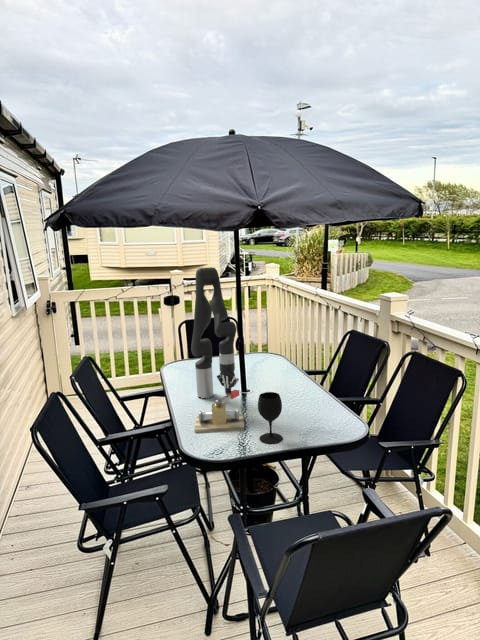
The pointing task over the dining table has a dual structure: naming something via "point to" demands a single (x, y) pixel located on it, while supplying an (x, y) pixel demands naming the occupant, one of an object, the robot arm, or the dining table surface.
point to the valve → (219, 415)
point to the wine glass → (270, 415)
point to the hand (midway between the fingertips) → (228, 394)
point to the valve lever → (227, 397)
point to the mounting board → (219, 425)
